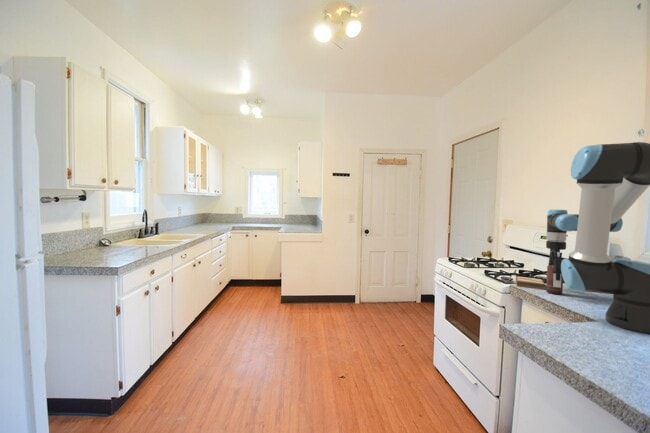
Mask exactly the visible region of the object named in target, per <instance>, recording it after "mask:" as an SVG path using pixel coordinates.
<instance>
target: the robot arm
mask: <svg viewBox="0 0 650 433" xmlns="http://www.w3.org/2000/svg"><path fill="white" fill-rule="evenodd" d="M570 176H571V178H572V179H574V180H576V184H577V186H579V187H580V188H581V191H580V199H579V210H578V214H576V213H575V214H574V213H570V214H569V213H568V210H567V209H548V211H547V214H546V218H547V219H546V236H545V237H546V245H545V246H546V247H545V248H547V249H549V258H548V259H549V260H548V265H549V264H553V265H554V271H553V273H554V281H553V287H560V288H561V274H562V277H563V283H564V284H565V285H566V286H567V288H568V289H570V290H572V291H579V292H582V293H596V294H606V295H607V294H608V295H613V296H612V301H611V303H610V305H609V307H608V308H607V310H606V312H605V320H606V322H608V323H609V322H610V323H609V324H611V323H612V325H614V326H616V327H620V328H623V329H626V330H630V331H632V332H633V331H634V332H638V333H643V334H650V263H649V262H644V261H643V262H642V261H639V260H632V259H627V258H619V257H618V258H617V257H616V258H615V259H614V260H613V259H612V258H611V257H610V256H609V255H608V247H609V240H610V233H617V232H619V231H621V229H622V228H623V224H624V223H623V218H622V217H623V216H624V214H626V213H627V211H628V210H629V209H630V208H631V207H632V206H633V205H634V204H635V202H636V201H637V200H638V199H639V198H640V197H641V196H642V195H643V193H644V192H646V190H647V189H648V188H649V186H650V143H649V142H643V141H637V142H636V141H635V142H634V141H633V142H623V143H607V144H606V143H605V144H600V143H598V144H594V145H585V146H583V147H581V148H580V149H579V150H577V152H576V154H574V156H573V159H572V162H571V165H570ZM567 232H576V236H575V238H576V239H575V246H574V250H573V251H572V252H570V253H569V254H568V258H564V259H563V257H562V256H563V252H561V251H562V250H566V249H567V242H566V241H567V237H569V235H568V234H567Z"/></svg>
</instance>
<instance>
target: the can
mask: <svg viewBox="0 0 650 433" xmlns="http://www.w3.org/2000/svg"><path fill="white" fill-rule="evenodd" d="M553 271H554V265H553V264H549V263H548V265H547V267H546V288H545V291H546V293H547V294H550V295H554V296H561V295H563V290H564V287H563V286H564V284H563V283H564V280H563V277H562V274H561V288H560V287H553V281H554V273H553Z"/></svg>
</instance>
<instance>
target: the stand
mask: <svg viewBox="0 0 650 433" xmlns="http://www.w3.org/2000/svg"><path fill="white" fill-rule="evenodd" d="M515 285H516V287H520V288H527V289H528V288H529V289H536V290H543V291H546V284H545V282H544V280H543V279H541V278H535V277H533V278H532V277H524V276H515Z"/></svg>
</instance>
